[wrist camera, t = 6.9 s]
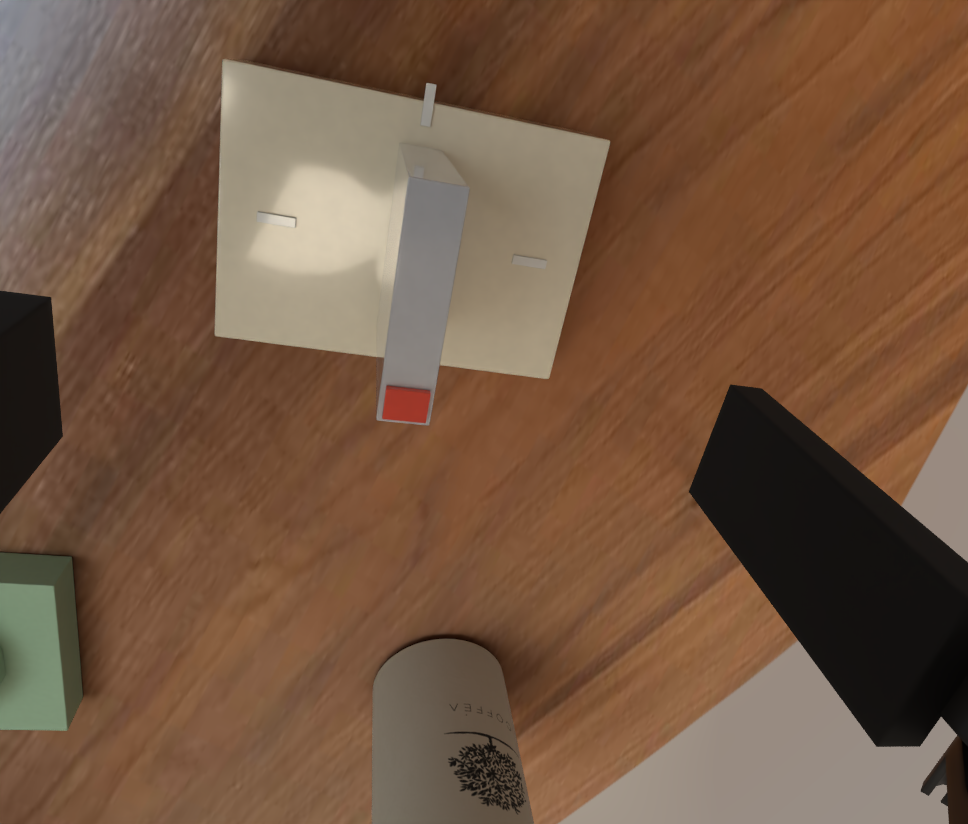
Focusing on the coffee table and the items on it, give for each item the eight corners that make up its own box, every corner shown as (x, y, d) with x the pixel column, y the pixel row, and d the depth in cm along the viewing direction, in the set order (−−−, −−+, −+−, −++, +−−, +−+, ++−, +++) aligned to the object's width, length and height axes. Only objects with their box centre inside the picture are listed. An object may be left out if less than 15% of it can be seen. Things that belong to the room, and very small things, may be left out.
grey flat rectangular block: (399, 142, 25) (408, 178, 17) (442, 150, 25) (471, 188, 17) (376, 323, 28) (375, 424, 20) (415, 329, 28) (429, 430, 20)
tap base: (228, 325, 30) (212, 352, 27) (238, 40, 25) (221, 37, 22) (532, 365, 33) (546, 393, 30) (593, 118, 28) (617, 124, 25)
